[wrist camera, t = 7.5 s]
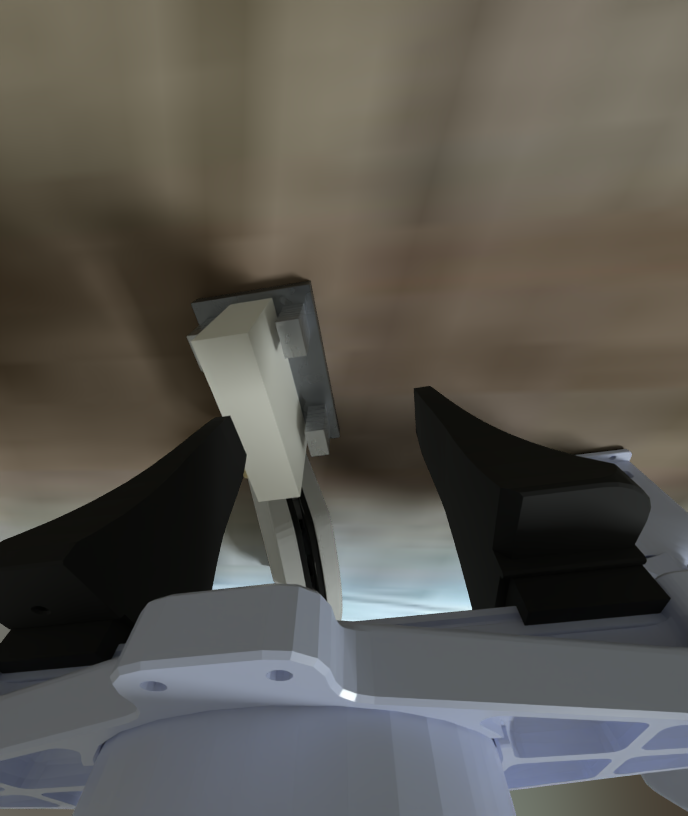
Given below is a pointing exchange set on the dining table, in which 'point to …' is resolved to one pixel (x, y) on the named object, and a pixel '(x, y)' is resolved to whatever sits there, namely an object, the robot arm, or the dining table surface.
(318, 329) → the clip bracket
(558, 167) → the dining table surface
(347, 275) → the dining table surface
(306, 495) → the grey curved block
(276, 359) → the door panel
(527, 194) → the dining table surface
